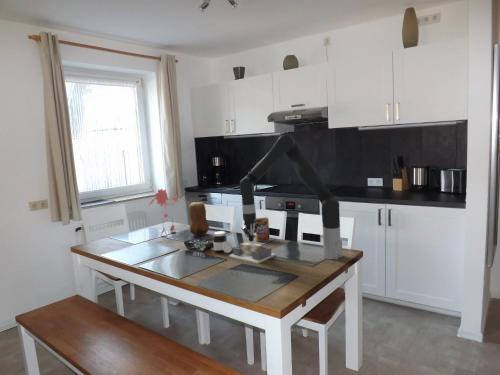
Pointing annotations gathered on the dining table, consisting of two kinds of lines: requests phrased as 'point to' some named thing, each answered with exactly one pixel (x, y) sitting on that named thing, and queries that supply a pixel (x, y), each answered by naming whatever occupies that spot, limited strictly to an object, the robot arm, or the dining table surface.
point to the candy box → (262, 229)
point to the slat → (250, 248)
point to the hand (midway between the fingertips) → (251, 241)
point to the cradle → (256, 256)
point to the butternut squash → (198, 219)
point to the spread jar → (221, 242)
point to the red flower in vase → (162, 198)
